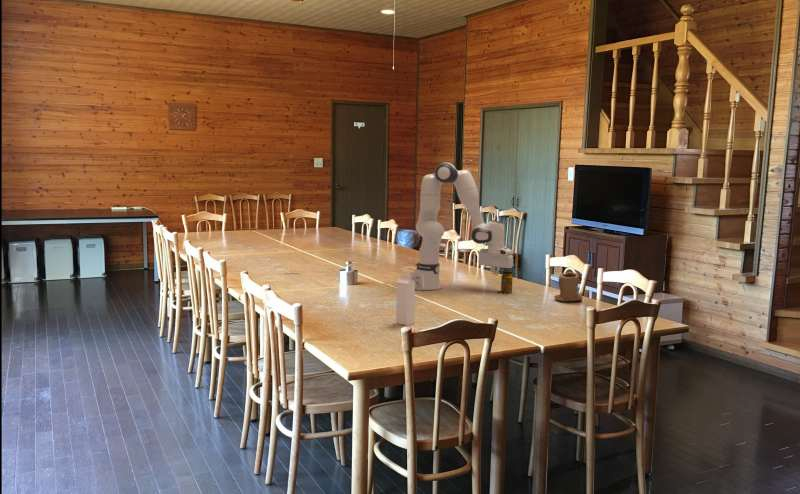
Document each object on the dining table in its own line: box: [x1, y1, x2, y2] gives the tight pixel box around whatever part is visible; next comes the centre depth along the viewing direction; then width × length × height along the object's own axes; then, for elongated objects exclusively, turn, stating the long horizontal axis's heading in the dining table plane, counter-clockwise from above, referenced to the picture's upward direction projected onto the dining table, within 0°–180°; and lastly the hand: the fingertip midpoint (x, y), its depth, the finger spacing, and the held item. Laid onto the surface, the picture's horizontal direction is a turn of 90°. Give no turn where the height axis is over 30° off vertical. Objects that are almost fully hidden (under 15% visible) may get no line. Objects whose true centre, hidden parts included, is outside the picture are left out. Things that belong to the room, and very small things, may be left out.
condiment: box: [496, 270, 515, 295], centre depth 362 cm, size 7×8×12 cm
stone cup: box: [554, 271, 584, 302], centre depth 344 cm, size 15×12×15 cm
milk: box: [395, 273, 416, 326], centre depth 294 cm, size 6×6×22 cm
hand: (495, 274), depth 366 cm, fingers closed
